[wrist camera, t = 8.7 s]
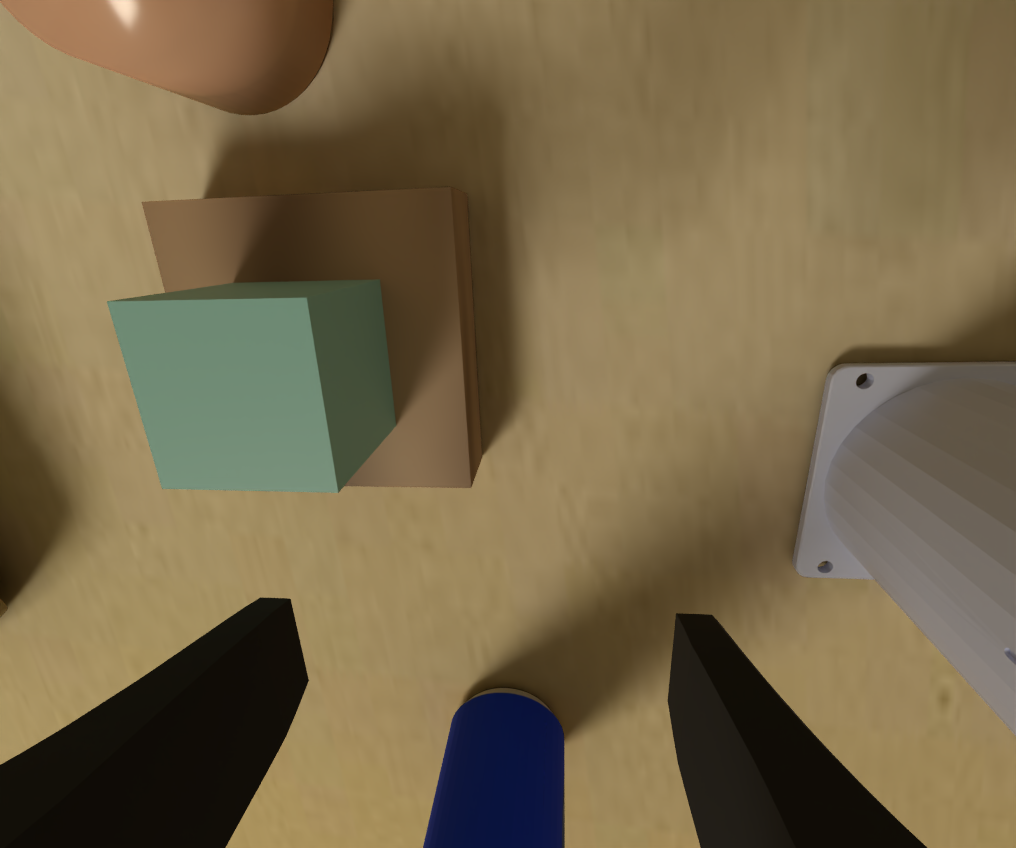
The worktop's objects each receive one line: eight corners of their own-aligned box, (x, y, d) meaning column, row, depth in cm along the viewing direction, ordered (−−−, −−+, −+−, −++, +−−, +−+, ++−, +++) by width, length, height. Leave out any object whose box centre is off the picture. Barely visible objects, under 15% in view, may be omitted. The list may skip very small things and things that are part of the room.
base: (467, 193, 16) (450, 186, 14) (482, 456, 19) (471, 487, 17) (199, 206, 17) (141, 201, 15) (255, 455, 20) (215, 483, 18)
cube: (379, 279, 15) (306, 297, 10) (396, 425, 16) (338, 492, 12) (233, 282, 15) (106, 301, 11) (262, 424, 17) (162, 488, 13)
